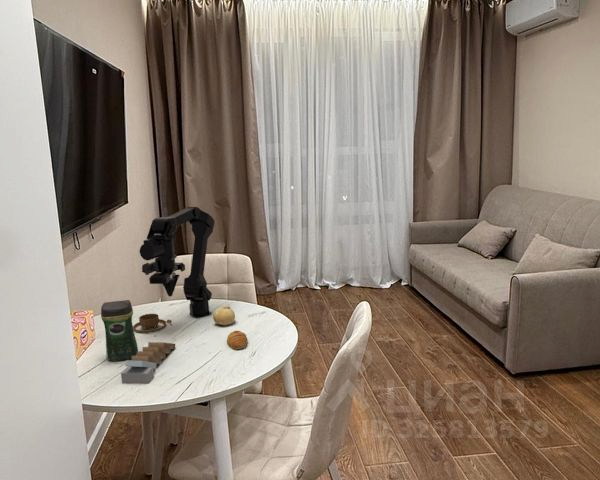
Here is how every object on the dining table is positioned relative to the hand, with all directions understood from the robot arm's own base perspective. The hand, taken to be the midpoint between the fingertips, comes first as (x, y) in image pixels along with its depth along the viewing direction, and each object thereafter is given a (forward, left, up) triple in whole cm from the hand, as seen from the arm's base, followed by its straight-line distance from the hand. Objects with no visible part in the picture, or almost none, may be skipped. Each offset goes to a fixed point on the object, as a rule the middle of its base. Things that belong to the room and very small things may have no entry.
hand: (170, 296), depth 191 cm
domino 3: (+14, +20, -12) cm, 27 cm away
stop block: (+24, +30, -13) cm, 41 cm away
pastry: (-11, +27, -14) cm, 32 cm away
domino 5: (+11, +17, -12) cm, 24 cm away
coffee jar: (+22, +10, -13) cm, 28 cm away
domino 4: (+8, +14, -12) cm, 20 cm away
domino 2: (+16, +22, -12) cm, 30 cm away
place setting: (+5, -14, -14) cm, 20 cm away
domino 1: (+19, +25, -12) cm, 34 cm away
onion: (-17, +7, -13) cm, 23 cm away
